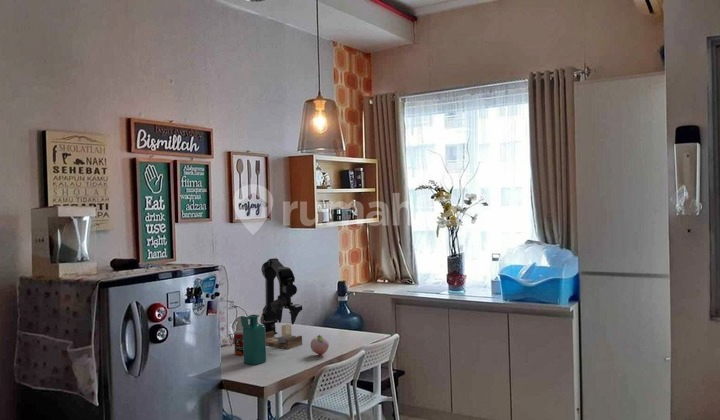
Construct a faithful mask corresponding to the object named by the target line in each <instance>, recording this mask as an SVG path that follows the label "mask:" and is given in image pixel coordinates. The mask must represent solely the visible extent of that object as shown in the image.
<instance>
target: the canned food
mask: <svg viewBox="0 0 720 420" xmlns="http://www.w3.org/2000/svg"><path fill="white" fill-rule="evenodd" d="M233 333H234V334H233V342H234V354H235V355H236V356H239V357H240V356H243V357H244V352H243V329H237V330H235V331H234V332H233Z"/></svg>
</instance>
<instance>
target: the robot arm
mask: <svg viewBox="0 0 720 420" xmlns="http://www.w3.org/2000/svg"><path fill="white" fill-rule="evenodd" d="M261 273H262V276H263V278H264V279H265V281H264V283H265V305H264V307H263V308H262V313H261V316H260V320H259V321H260V324H261V325H263V326H265V333H267V332H271V331H274V335H277V334H278V332H277V331H276V329H277V328H276V324H277V323H282V318H283V310H284V309H286V310H287V309H288V311H289V312H288V313H289V314H290V323H291V326H292V325H294V324H295V323H296V320H297V317H298V315H299V313H301V312H302V311H303V305H302V304H297V303H295V304H294V302H293V301H292V297H293V296H295V295H296V294H297V292H298V288H297V285H295V284H294V283H295V282H296V281H295V280H296V278H295V274H294V272H293V270H292V269H291V268H290V267H288V266H284V265H283V263H282V262H280V260H279V258H277V257H274V258H269V259H268V260H267V261H265V262H264V263H263V264H262V266H261ZM276 278H277V281H278V284H279V285H278V287H279V291H278V292H279V295H277V298H276V299H275V279H276Z"/></svg>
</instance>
